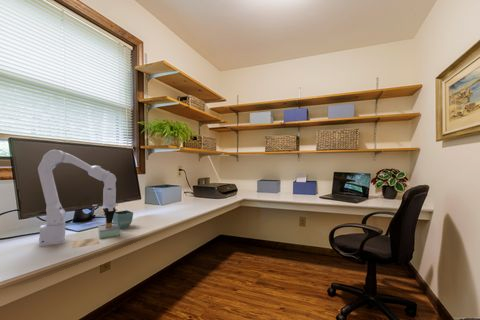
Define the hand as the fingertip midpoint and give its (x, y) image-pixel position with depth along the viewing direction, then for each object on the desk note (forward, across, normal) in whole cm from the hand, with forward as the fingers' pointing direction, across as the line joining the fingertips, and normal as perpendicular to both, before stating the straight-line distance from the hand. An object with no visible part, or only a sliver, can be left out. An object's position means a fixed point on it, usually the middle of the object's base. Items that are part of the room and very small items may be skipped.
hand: (109, 222), depth 119 cm
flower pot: (+7, +11, -8) cm, 15 cm away
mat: (+7, -7, +10) cm, 14 cm away
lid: (+3, 0, 0) cm, 3 cm away
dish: (+7, 0, 0) cm, 7 cm away
